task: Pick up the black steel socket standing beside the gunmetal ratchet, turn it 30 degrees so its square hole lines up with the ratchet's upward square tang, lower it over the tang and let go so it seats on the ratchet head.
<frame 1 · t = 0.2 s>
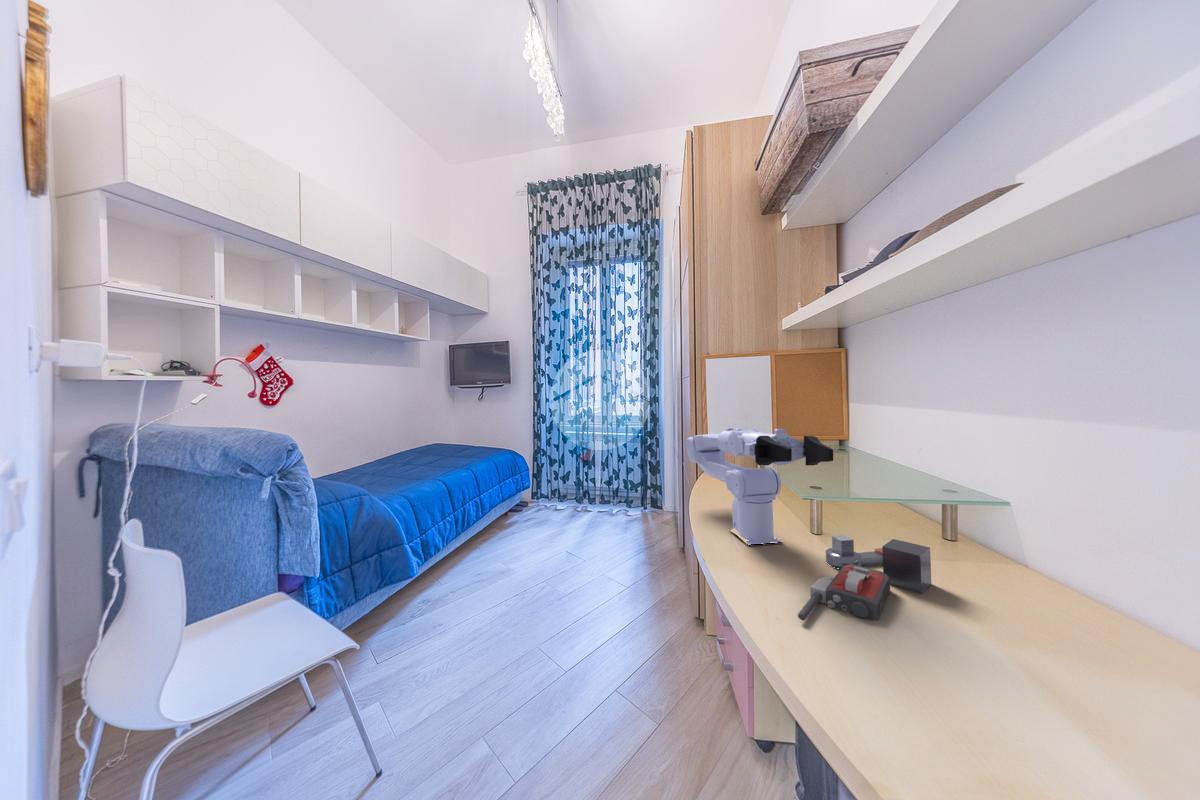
hand: (810, 454, 64), 22 cm above the table, tool horizontal, fingers open, 7 cm apart
ratchet: (843, 564, 70), on the table
socket: (907, 582, 62), on the table
walkie-talkie: (846, 607, 57), on the table
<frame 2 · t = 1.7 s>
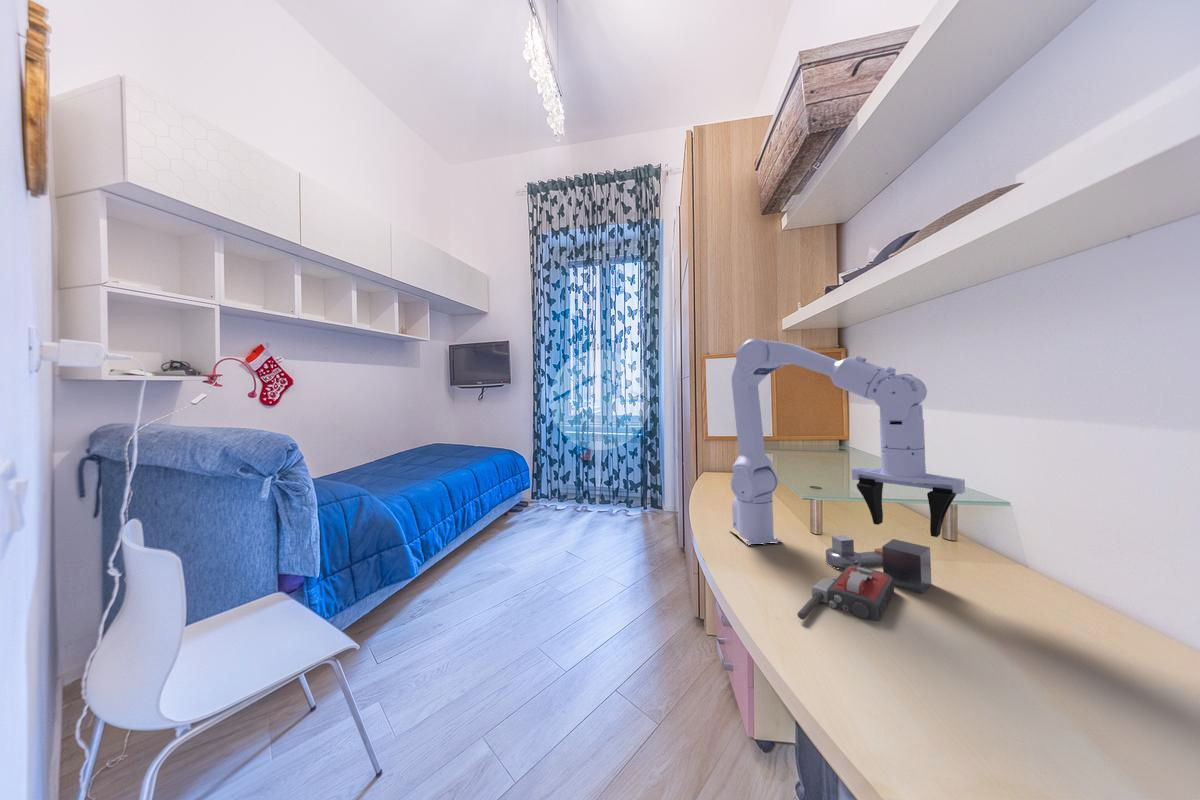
hand: (905, 528, 62), 9 cm above the table, tool pointing down, fingers open, 7 cm apart
nothing on the table moved.
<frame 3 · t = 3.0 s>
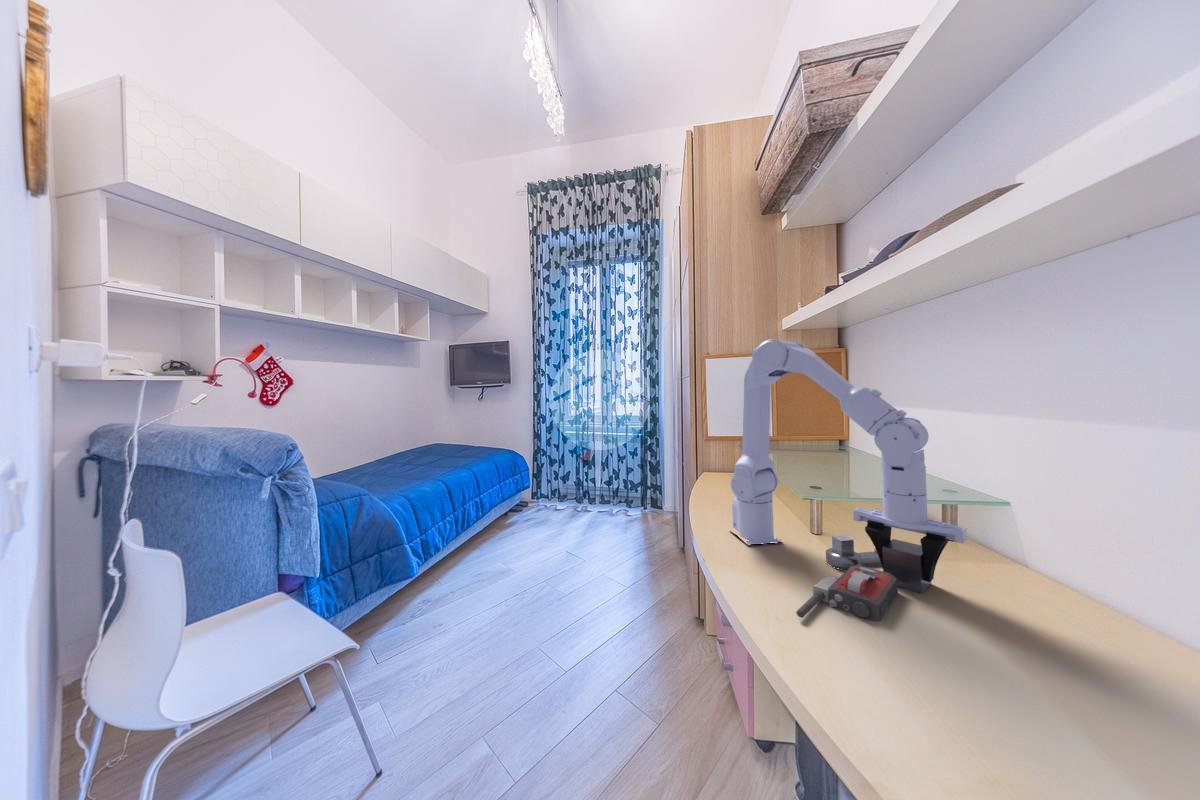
hand: (907, 573, 62), 2 cm above the table, tool pointing down, fingers closed on socket, 5 cm apart
socket: (907, 582, 62), on the table, touching gripper
everything else where it was.
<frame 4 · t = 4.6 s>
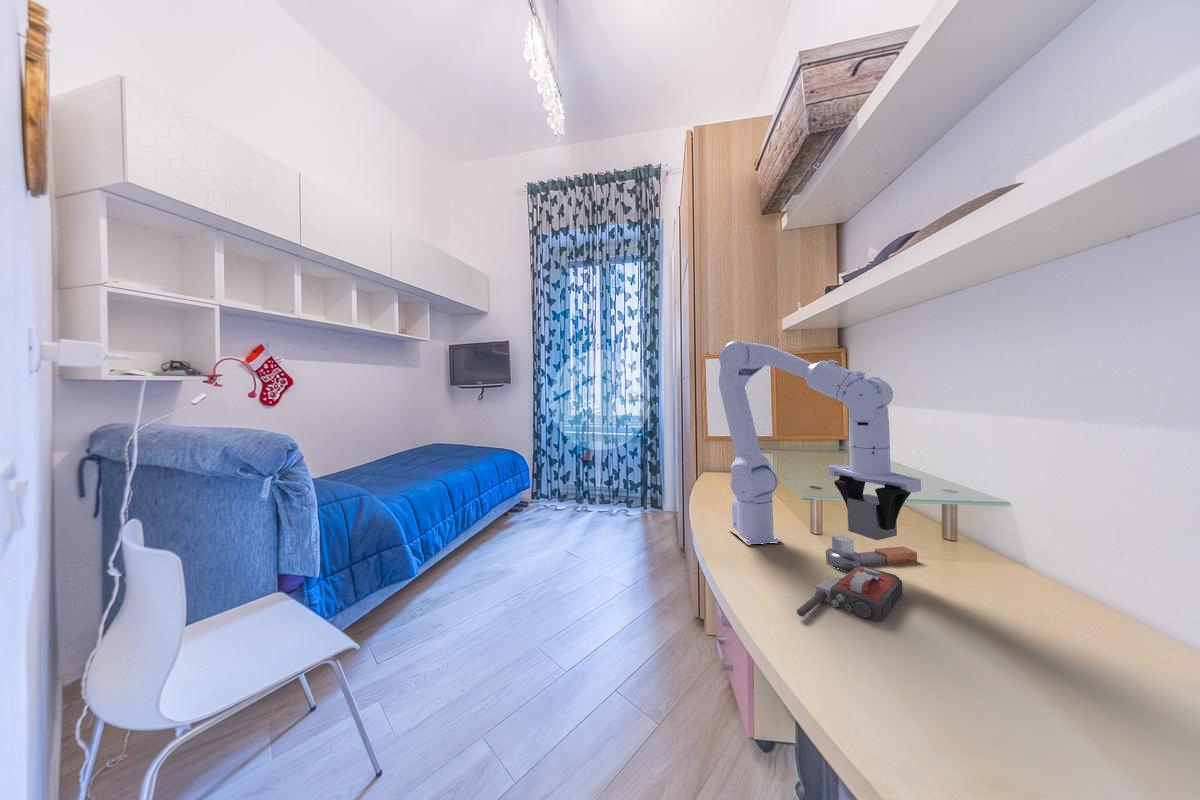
hand: (871, 523, 66), 9 cm above the table, tool pointing down, fingers closed on socket, 5 cm apart
socket: (872, 533, 66), point 7 cm above the table, touching gripper
everything else where it was.
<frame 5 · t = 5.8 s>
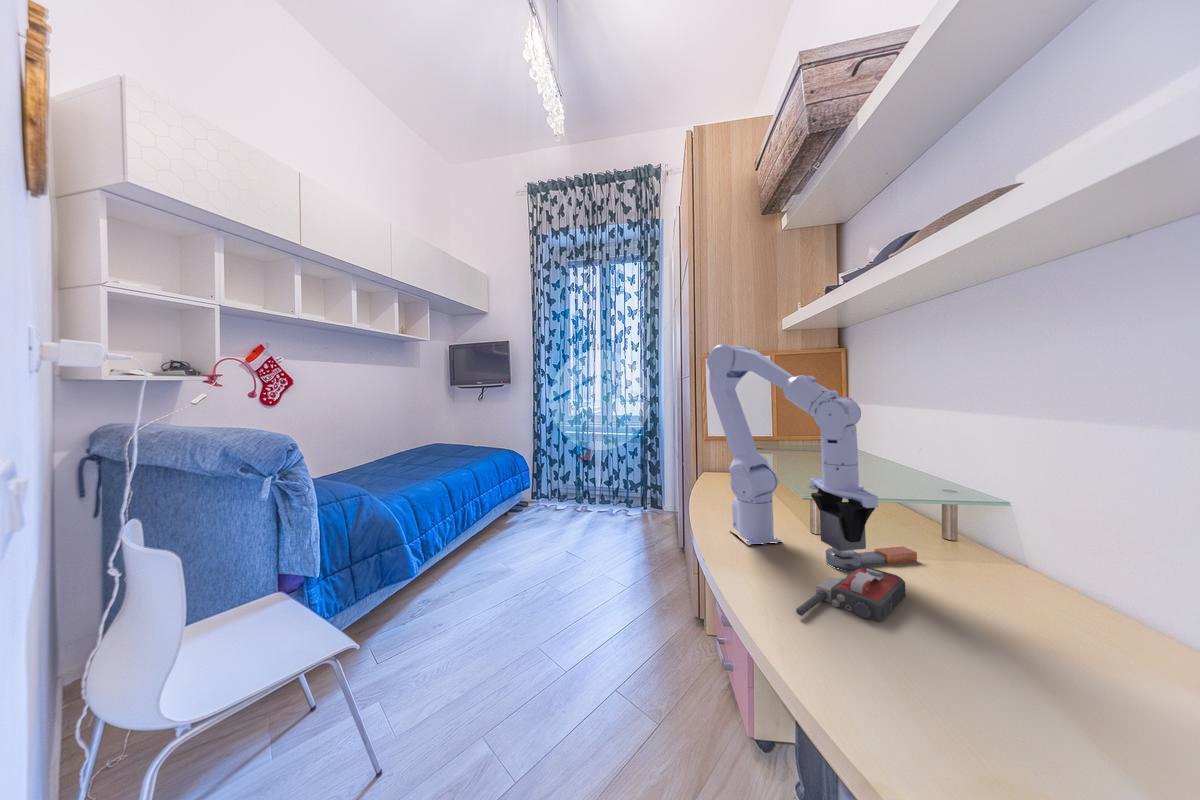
hand: (842, 535, 70), 5 cm above the table, tool pointing down, fingers closed on socket, 5 cm apart
socket: (842, 544, 70), point 4 cm above the table, touching gripper
everything else where it was.
when the fingers open (4 cm above the table, at t = 6.6 s): socket stays where it is, resting on ratchet.
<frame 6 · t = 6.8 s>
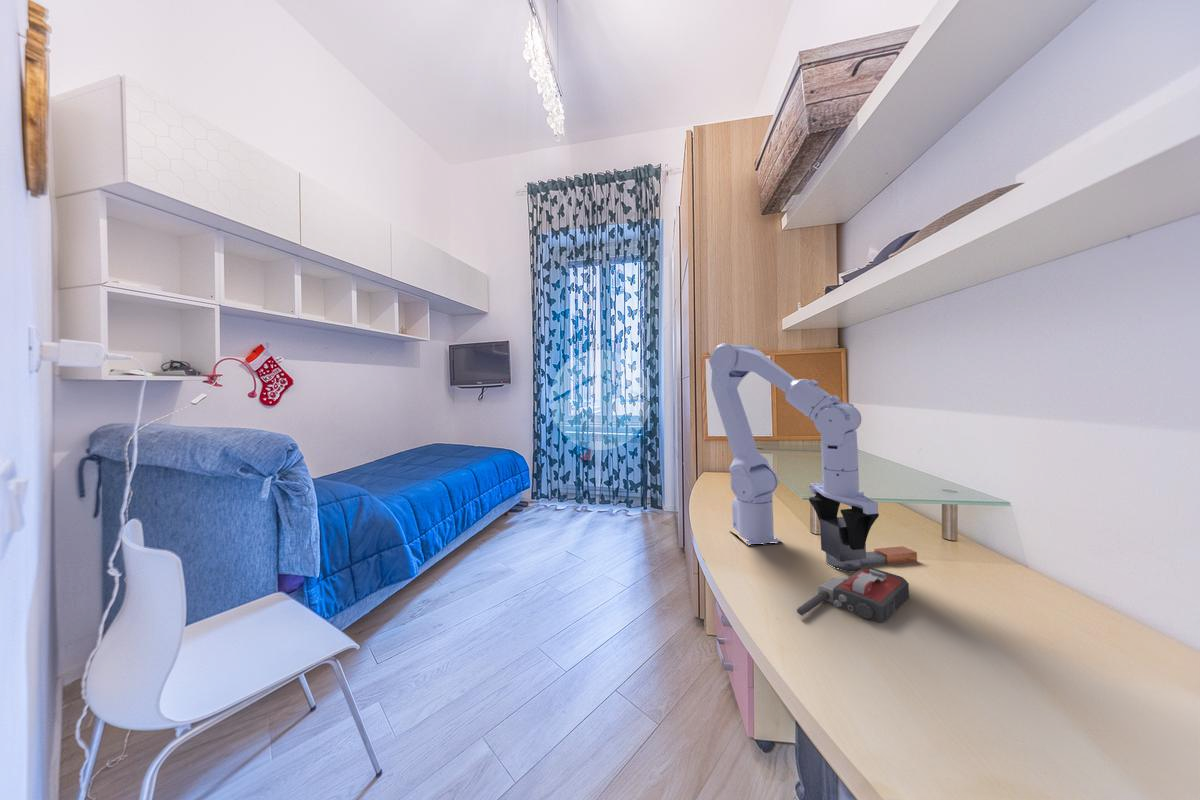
hand: (842, 541, 70), 4 cm above the table, tool pointing down, fingers open, 6 cm apart
ratchet: (843, 564, 70), on the table, touching socket
socket: (843, 553, 70), point 2 cm above the table, touching ratchet
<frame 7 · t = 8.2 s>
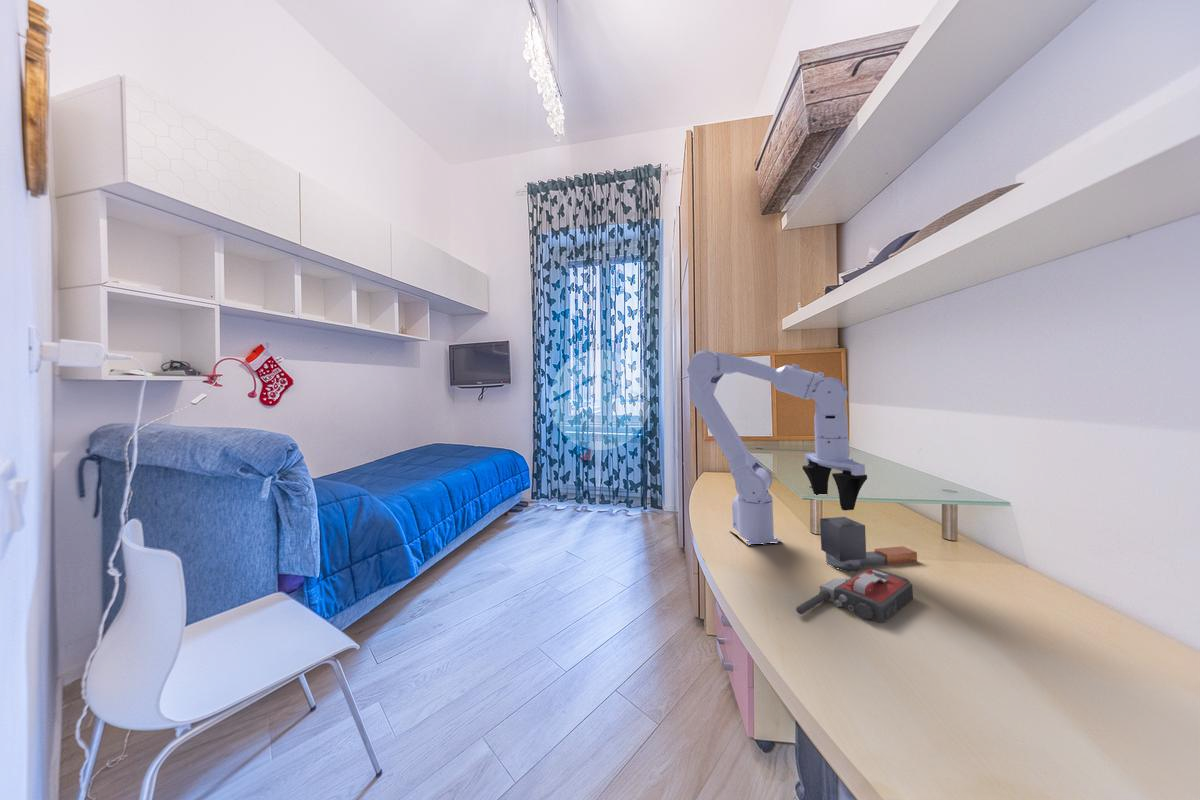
hand: (833, 504, 76), 9 cm above the table, tool pointing down, fingers open, 7 cm apart
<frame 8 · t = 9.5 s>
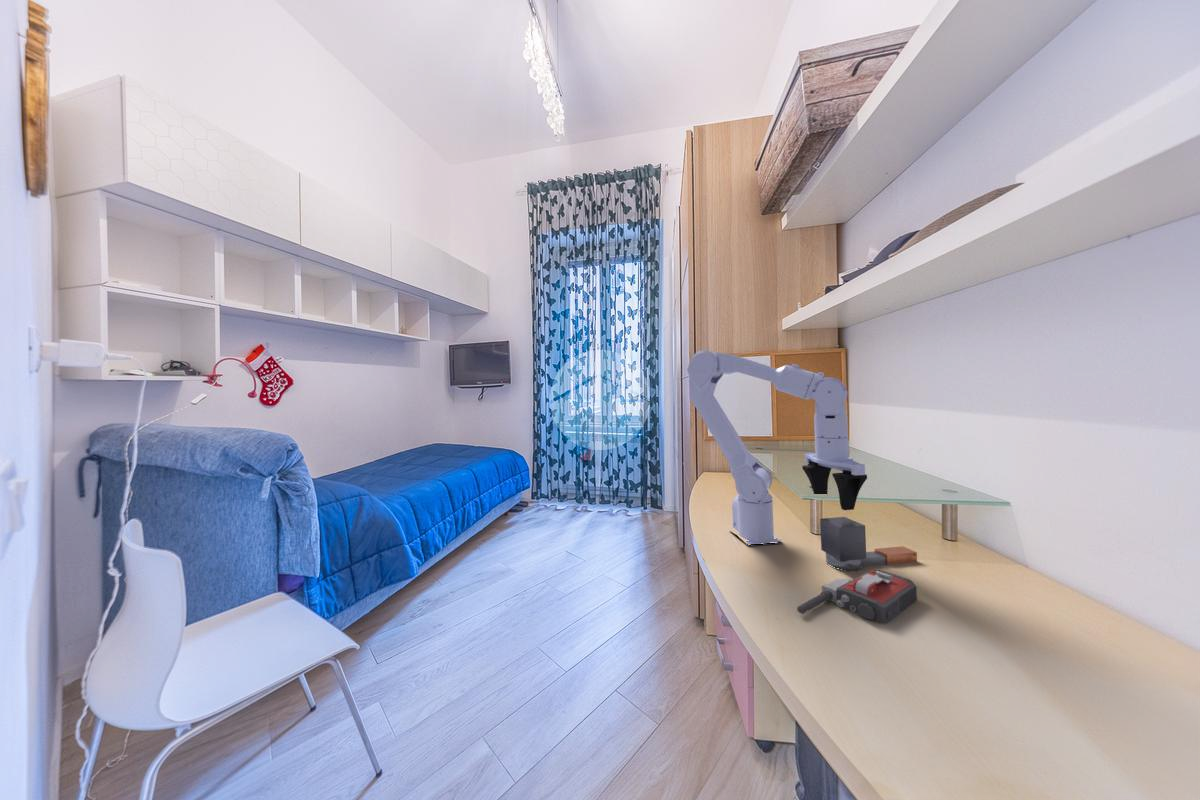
hand: (833, 503, 76), 9 cm above the table, tool pointing down, fingers open, 7 cm apart
at the end: socket 0.1 cm from the ratchet (horizontally); socket point 1.9 cm above the table; socket tilted 0° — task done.
